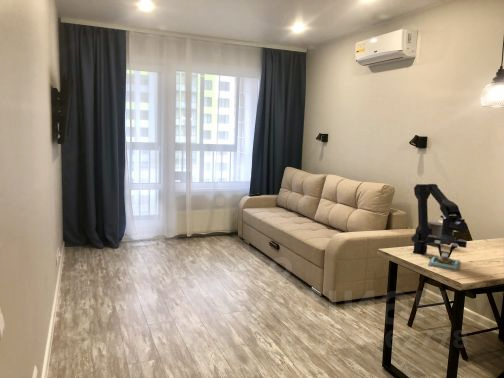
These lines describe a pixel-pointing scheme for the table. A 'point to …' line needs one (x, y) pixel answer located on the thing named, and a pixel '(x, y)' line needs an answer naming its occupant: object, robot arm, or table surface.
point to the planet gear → (444, 258)
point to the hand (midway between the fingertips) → (444, 256)
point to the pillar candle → (435, 230)
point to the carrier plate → (452, 266)
